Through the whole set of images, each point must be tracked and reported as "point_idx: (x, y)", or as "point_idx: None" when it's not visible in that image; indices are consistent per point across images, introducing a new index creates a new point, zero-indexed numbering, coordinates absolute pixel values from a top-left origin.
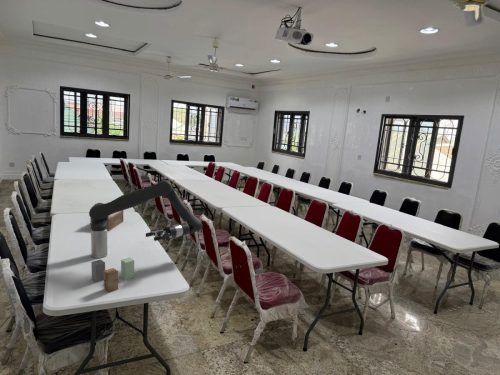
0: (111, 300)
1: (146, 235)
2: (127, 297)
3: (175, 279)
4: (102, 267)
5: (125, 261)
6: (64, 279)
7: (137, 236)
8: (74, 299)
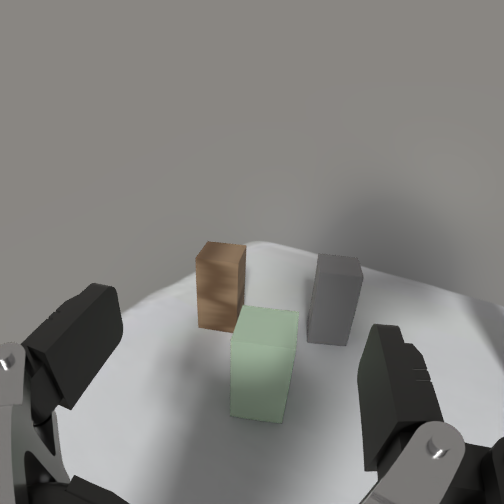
0: (163, 289)
1: (366, 352)
2: (130, 311)
3: None
4: (316, 285)
5: (257, 310)
6: (387, 290)
7: None
8: (253, 263)
